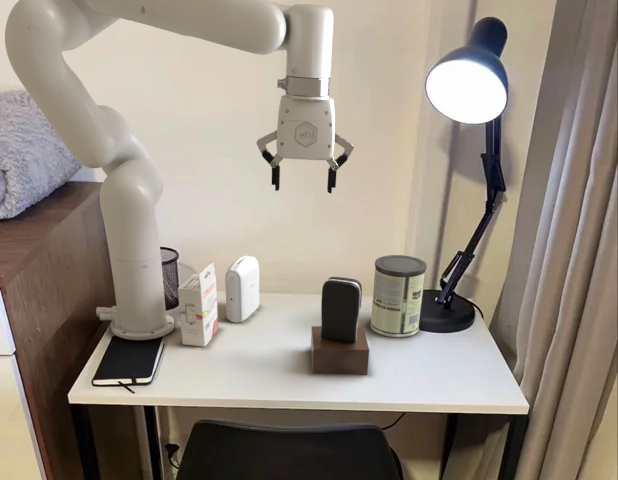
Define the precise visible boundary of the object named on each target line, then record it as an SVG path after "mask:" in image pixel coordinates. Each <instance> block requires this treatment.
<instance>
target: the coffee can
mask: <svg viewBox="0 0 618 480" xmlns="http://www.w3.org/2000/svg"><path fill="white" fill-rule="evenodd" d="M374 266H375V267H374V279H373V291H372V302H371V303H372V306H371V317H370V328H371V330H372V331H373V332H375V333H377V334H379V335H382V336H385V337H389V338H390V337H391V338H408V337H411V336H414V335H416V334H417V333H418V332H419V331H420V318H421V310H422V303H423V294H424V286H425V278H426V277H425V276H426V271H427V266H428V264H427V262H425V261H424V260H422V259H421V258H418V257H415V256H410V255H403V254H391V255H390V254H389V255H384V256H380V257H378V258H377V259H375V261H374Z"/></svg>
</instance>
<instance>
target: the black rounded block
mask: <svg viewBox="0 0 618 480" xmlns="http://www.w3.org/2000/svg"><path fill="white" fill-rule="evenodd" d="M362 296H363V286H362V283H361V282H360V281H359V280H358V279H355V278H351V277H342V276H331V277H329V278H328V279H327V280H325V281H324V282H323V285H322V288H321V304H320V305H321V306H320V308H321V310H320V312H321V313H320V314H321V315H320V316H321V317H320V319H321V338H325V339H330V340H336V341H343V342H353V343H354V342H356V340H357V328H358V327H359V318H360V310H361V307H362V298H363V297H362Z"/></svg>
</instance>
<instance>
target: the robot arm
mask: <svg viewBox="0 0 618 480" xmlns="http://www.w3.org/2000/svg"><path fill="white" fill-rule="evenodd" d="M120 19H122V20H126V21H130V22H131V21H132V22H135V23H138V24H142V25H146V26H150V27H153V28H156V29H160V30H164V31H167V32H171V33H174V34H177V35H180V36H184V37H192V38H196V39H200V40H203V41H207V42H209V43H210V42H211V43H213V44H217V45H220V46H225V47H228V48H231V49H235V50H240V51H242V52H247V53H250V54H255V55H259V56H266V55H270V54H272V53H274V52H277V51H278V52H279V51H286V58H285V59H286V60H285V61H286V63H285V64H286V65H285V77H283V78H281V79H277V81H276V83H277V85H276V87H277V89H282V90H283V91H285V94H282V95H281V96H280V101H279V106H278V112H277V126H276V130H274V131H271V132H269V133H268V134H266V135H264V136H262V137H259V138H258V139H256V146H257V149H258V150H259V152H260V154H261V156H262V158H263V159H264V160H265V161H266V162H267V164H268V165H269V166H270V168H271V185H272V186H274V190H275V192H278V191H280V188H281V187H280V183H281V166H280V163H281V162H282V161H283V159H286V160H287V159H289V160H305V161H326V162H327V164H328V166H329V168H328V169H327V170H328V171H327V184H326V185H327V187H326V190H327V191H326V192H327V193H328V194H333V193H332V192H333V189H335V188H336V187H337V172H338V170H339V169H340V168H341V167H342V166H343V165H344V164H345V163H346V162H347V161H348V159H349V157H350V156H351V154H352V152H353V151H354V149H355V146H354V144H353V143H352V142H351V141H349V140H347V139H346V138H345V137H342V136H341V135H340V134H337V133H336V128H335V127H336V114H335V101H334V98H332V97H331V96H330V88H331V71H332V52H333V35H334V12H333V9H331V7H329V6H327V5H321V4H307V3H306V4H305V3H297V4H293V5H288V4H283V3H277V2H273V1H270V0H18V1H17V2H16V3H15V4H14V5H13V7H12V8H11V10H10V12H9V14H8V16H7V20H6V24H5V30H4V46H5V51H6V56H7V58H8V61H9V63H10V66H11V68H12V70H13V72H14V73H15V75H16V77H17V78H18V80H19V81H20V83H21V85H22V86H23V87H24V88H25V90H26V91H27V93H28V95H30V97H31V99H33V101H34V102H35V104H36V105H37V106H38V108H39V110H40V111H41V113H42V114H43V116H44V117H45V119H46V120H47V122H48V123H49V125H51V127H52V128H53V130H54V132H55V133H56V135H57V136H58V137H59V139H60V140H61V141H62V143H63V144H64V146H65V147H66V149H67V150H68V151H69V153H70V154H71V156H72V157H73V158H74V159H75V160H76V161H77V162H78V163H79V164H81V165H82V166H84V167H85V168H89V169H99V168H101V170H102V171H103V173H104V174H105V175H106V177H105V179H104V180H103V182H102V184H101V187H100V191H99V206H100V211H101V215H102V218H103V224H104V227H105V231H106V237H107V245H108V252H109V259H110V266H111V275H112V281H113V290H114V298H115V305H113V306H111V307H106V306H97V307H96V309H95V315H96V317H98V318H99V321H111V324H110V330H111V333H112V334H113V335H115V336H116V337H118V338H121V339H123V340H128V341H129V340H130V341H149V340H154V339H159V338H161V337H165V336H166V335H168V334H170V333H172V331H173V330H174V329H175V319H174V318H173V317H172V316H171V315H170V314H168V313H167V310H166V299H165V297H166V296H165V287H164V274H163V265H162V264H163V262H162V253H161V244H160V243H161V242H160V233H159V228H158V223H157V217H156V216H157V215H156V205H157V204H158V202H159V201H160V199H161V197H162V195H163V192H164V179H163V178H164V177H163V175H162V173H161V171H160V169H159V168H158V165H157V164H156V162H155V161H154V159H153V158H152V156H151V154H150V153H149V151H148V150H147V149H146V147H145V146H144V144H143V142H142V141H141V139H140V138H139V137H138V135H137V134H136V132H135V130H134V129H133V127H132V126H131V124H130V123H129V121H128V120H127V119H126V118H125V117H124V116H123V115H122V114H121V113H120V112H119V111H118V110H116V109H114V108H113V107H110V106H108V105H101V104H97V103H96V101H95V100H94V99H93V97H92V96H91V94H90V93H89V92H88V90H87V88H86V86H85V85H84V83H83V81H82V80H81V79H80V78H79V76H78V75H77V74H76V73H75V71H74V70H73V69H72V68H71V67H70V66H69V64H68V63H67V62H66V60H65V58H64V55H63V52H67V51H72V50H75V49H77V48H79V47H81V46H83V45H84V44H86V43H87V42H89V41H90V40H92V39H93V38H94V37H96V36H97V35H99V34H100V33H102V32H104V30H106V29H108V28H109V27H110V26H111V25H114V24H115V23H117V22H118V21H119V20H120ZM275 140H276V142H275V143H276V154H275V155H273V154H272V153H271V152H270V151H269V149H268V147H267V145H268V144H269V143H272V142H274V141H275ZM335 144H337V145H339V146H340V147H342V148H343V151H342V152H341V154H340V155H339V156H338V157H337V158H335V157H334V152H335Z"/></svg>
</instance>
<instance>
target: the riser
mask: <svg viewBox="0 0 618 480" xmlns="http://www.w3.org/2000/svg"><path fill="white" fill-rule="evenodd" d="M310 331H311V332H310V333H311V335H310V357H311V358H310V359H311V368H312V369H311V370H312V374H313V375H368V370H369V361H370V360H369V357H370V347H369V343H368V338H367V335H366V331H365V327H364V326H358V328H357V340H356V342H354V343H353V342H343V341H336V340H330V339H325V338H321V326H320V325H312V326H311V330H310Z"/></svg>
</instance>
